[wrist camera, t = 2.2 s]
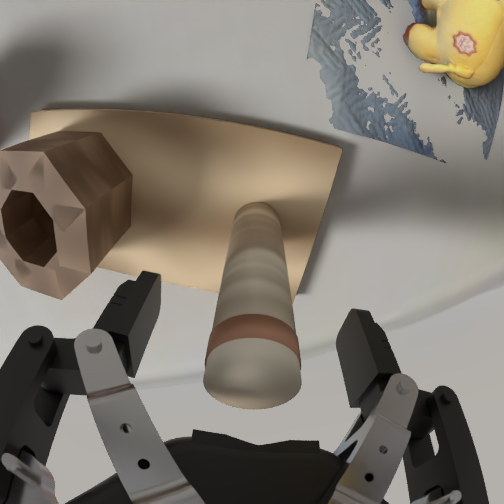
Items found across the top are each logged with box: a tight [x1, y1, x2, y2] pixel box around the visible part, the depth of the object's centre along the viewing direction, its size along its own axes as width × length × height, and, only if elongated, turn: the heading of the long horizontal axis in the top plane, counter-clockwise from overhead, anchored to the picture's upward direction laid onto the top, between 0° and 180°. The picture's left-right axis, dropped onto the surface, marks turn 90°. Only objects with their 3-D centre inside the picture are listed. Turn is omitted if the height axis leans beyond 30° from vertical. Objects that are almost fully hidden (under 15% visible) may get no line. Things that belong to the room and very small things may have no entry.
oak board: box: [30, 109, 342, 304], centre depth 19 cm, size 12×22×1 cm, turn 79°
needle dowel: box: [203, 202, 301, 409], centre depth 13 cm, size 3×3×12 cm
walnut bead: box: [0, 131, 133, 300], centre depth 15 cm, size 9×9×6 cm
